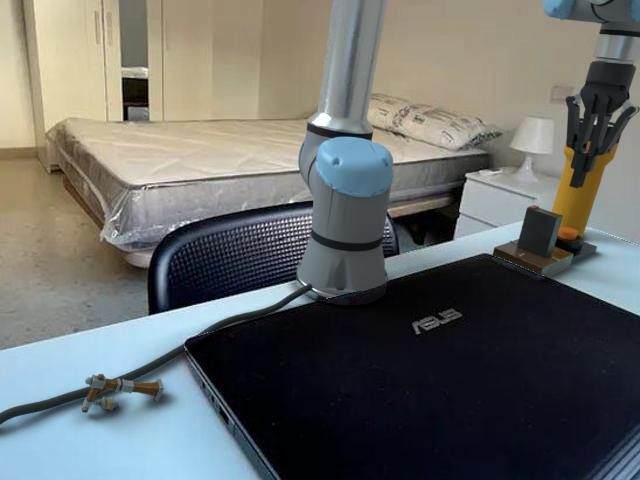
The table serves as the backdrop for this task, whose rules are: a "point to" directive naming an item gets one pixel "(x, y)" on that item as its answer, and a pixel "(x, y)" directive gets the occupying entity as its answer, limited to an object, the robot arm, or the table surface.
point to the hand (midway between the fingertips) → (575, 186)
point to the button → (567, 233)
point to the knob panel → (534, 258)
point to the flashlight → (580, 200)
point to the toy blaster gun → (123, 386)
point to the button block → (576, 248)
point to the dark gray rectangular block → (539, 231)
